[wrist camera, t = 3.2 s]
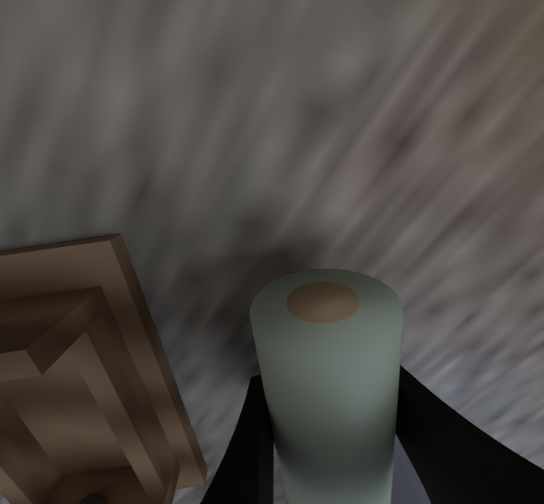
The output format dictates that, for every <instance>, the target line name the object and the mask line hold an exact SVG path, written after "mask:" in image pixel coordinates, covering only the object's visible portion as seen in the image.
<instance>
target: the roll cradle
mask: <svg viewBox="0 0 544 504" xmlns="http://www.w3.org/2000/svg"><path fill="white" fill-rule="evenodd" d="M206 476H207V467H206V464H205V462H204V459H203V456H202V453H201V451H200V448H199V445H198V443H197V440H196V437H195V434H194V432H193V429H192V426H191V424H190V421H189V418H188V416H187V413H186V410H185V407H184V405H183V402H182V399H181V397H180V394H179V391H178V389H177V386H176V383H175V380H174V378H173V375H172V372H171V370H170V367H169V364H168V361H167V359H166V356H165V353H164V351H163V348H162V345H161V343H160V340H159V337H158V334H157V332H156V329H155V326H154V324H153V321H152V318H151V315H150V313H149V310H148V307H147V305H146V302H145V299H144V297H143V294H142V291H141V288H140V286H139V283H138V280H137V278H136V275H135V272H134V270H133V267H132V264H131V261H130V259H129V256H128V253H127V251H126V248H125V245H124V242H123V240H122V237H121V234H119V235H112V236H105V237H98V238H91V239H84V240H77V241H70V242H63V243H56V244H49V245H42V246H35V247H28V248H21V249H14V250H7V251H0V493H1V494H2V495H3V496H4V497H5V498H6V499H7V500H8V502H9V503H10V504H172V502H173V497H174V493H175V489H179V488H186V487H193V486H200V485H205V482H206Z"/></svg>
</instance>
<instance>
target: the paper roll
mask: <svg viewBox="0 0 544 504" xmlns="http://www.w3.org/2000/svg"><path fill="white" fill-rule="evenodd" d="M249 313H250V321H251V326H252V331H253V336H254V341H255V346H256V351H257V357H258V362H259V367H260V372H261V377H262V382H263V387H264V392H265V397H266V402H267V408H268V413H269V418H270V423H271V428H272V433H273V438H274V443H275V448H276V453H277V459H278V464H279V469H280V474H281V479H282V484H283V489H284V494H285V498H286V502H287V504H391V490H392V475H393V461H394V446H395V431H396V417H397V402H398V388H399V373H400V359H401V344H402V329H403V315H404V312H403V305H402V302H401V300H400V298H399V297H398V295H397V294H396V293H395V292H394V291H393V290H392V289H391V288H390V287H389V286H387V285H386V284H384V283H383V282H381V281H379V280H377V279H375V278H373V277H370V276H368V275H365V274H361V273H357V272H353V271H348V270H340V269H314V270H306V271H300V272H296V273H292V274H289V275H286V276H283V277H281V278H279V279H276V280H274V281H273V282H271V283H269V284H268V285H266V286H265V287H264V288H262V289H261V290H260V291H259V292H258V293H257V295H256V296H255V297H254V299H253V300H252V303H251V305H250V311H249Z"/></svg>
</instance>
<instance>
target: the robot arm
mask: <svg viewBox="0 0 544 504" xmlns="http://www.w3.org/2000/svg"><path fill="white" fill-rule="evenodd" d="M273 473H274V438H273V433H272V428H271V423H270V418H269V413H268V408H267V402H266V397H265V392H264V387H263V382H262V377H261V375H258V376H252V377H251V378H250V383H249V387H248V391H247V395H246V399H245V402H244V405H243V408H242V411H241V414H240V417H239V420H238V423H237V425H236V428H235V431H234V433H233V436H232V438H231V441H230V443H229V445H228V448H227V450H226V453H225V455H224V457H223V459H222V461H221V464H220V466H219V468H218V470H217V472H216V474H215V476H214V478H213V480H212V482H211V484H210V486H209V488H208V490H207V492H206V494H205V496H204V498H203V499H202V501H201V503H200V504H273ZM391 504H544V470H543V469H541V468H540V467H538V466H537V465H535V464H533V463H532V462H530V461H528V460H527V459H525V458H523V457H522V456H520V455H519V454H517V453H515V452H514V451H512V450H510V449H509V448H507V447H506V446H504V445H503V444H501V443H500V442H498V441H497V440H495V439H494V438H492V437H491V436H489V435H488V434H486V433H485V432H483V431H482V430H480V429H479V428H478V427H476V426H475V425H473V424H472V423H471V422H469V421H468V420H467V419H465V418H464V417H463V416H461V415H460V414H459V413H457V412H456V411H455V410H453V409H452V408H451V407H449V406H448V405H447V404H446V403H444V402H443V401H442V400H441V399H439V398H438V397H437V396H436V395H435V394H433V393H432V392H431V391H430V390H429V389H427V388H426V387H425V386H424V385H423V384H421V383H420V382H419V381H418V380H417V379H416V378H414V377H413V376H412V375H411V374H410V373H409V372H408V371H407V370H405V369H404V368H403V367H402V366H401V365H400V373H399V388H398V402H397V417H396V431H395V446H394V461H393V475H392V490H391Z"/></svg>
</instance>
